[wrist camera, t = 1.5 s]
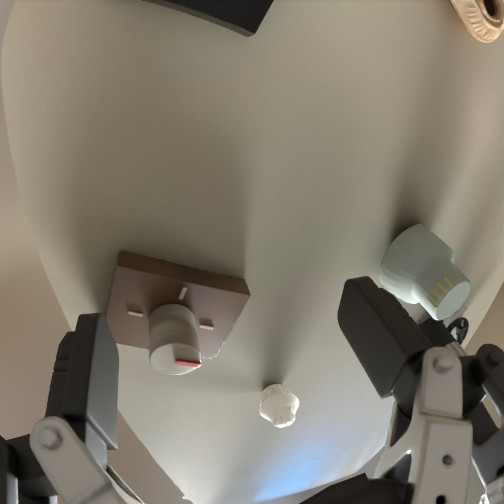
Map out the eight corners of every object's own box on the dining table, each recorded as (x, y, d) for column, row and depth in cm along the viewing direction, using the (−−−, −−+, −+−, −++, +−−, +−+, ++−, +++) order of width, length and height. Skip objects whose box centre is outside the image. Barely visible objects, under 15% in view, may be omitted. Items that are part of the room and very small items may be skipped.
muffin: (283, 397, 49) (296, 432, 43) (249, 400, 46) (260, 437, 41) (297, 376, 46) (312, 413, 40) (260, 378, 43) (274, 418, 38)
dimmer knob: (144, 331, 30) (145, 373, 26) (155, 299, 28) (155, 342, 24) (187, 339, 32) (192, 380, 27) (201, 308, 30) (208, 350, 26)
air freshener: (441, 240, 37) (488, 283, 29) (406, 286, 40) (447, 334, 32) (401, 207, 32) (460, 255, 24) (360, 264, 35) (407, 322, 27)
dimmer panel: (104, 323, 31) (101, 341, 29) (119, 249, 27) (116, 266, 25) (211, 343, 37) (215, 360, 35) (245, 279, 33) (251, 296, 30)
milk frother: (401, 336, 48) (446, 401, 36) (467, 288, 47) (517, 342, 35) (405, 368, 56) (439, 422, 44) (461, 327, 55) (499, 375, 43)
